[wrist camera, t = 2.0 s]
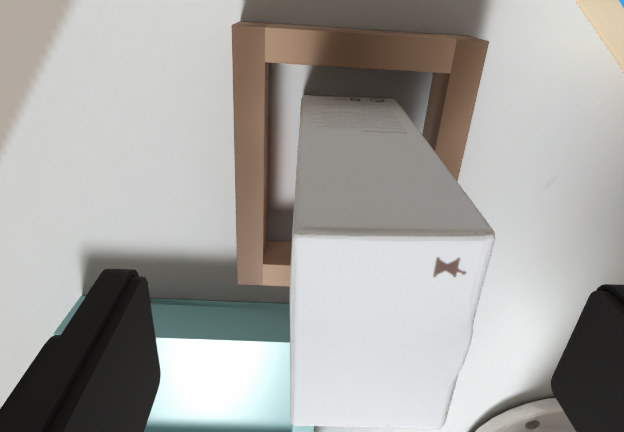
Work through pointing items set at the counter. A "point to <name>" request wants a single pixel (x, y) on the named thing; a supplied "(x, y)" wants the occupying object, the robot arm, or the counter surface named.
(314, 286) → the skincare box
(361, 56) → the holder
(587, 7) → the book
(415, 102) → the counter surface
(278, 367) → the tray
